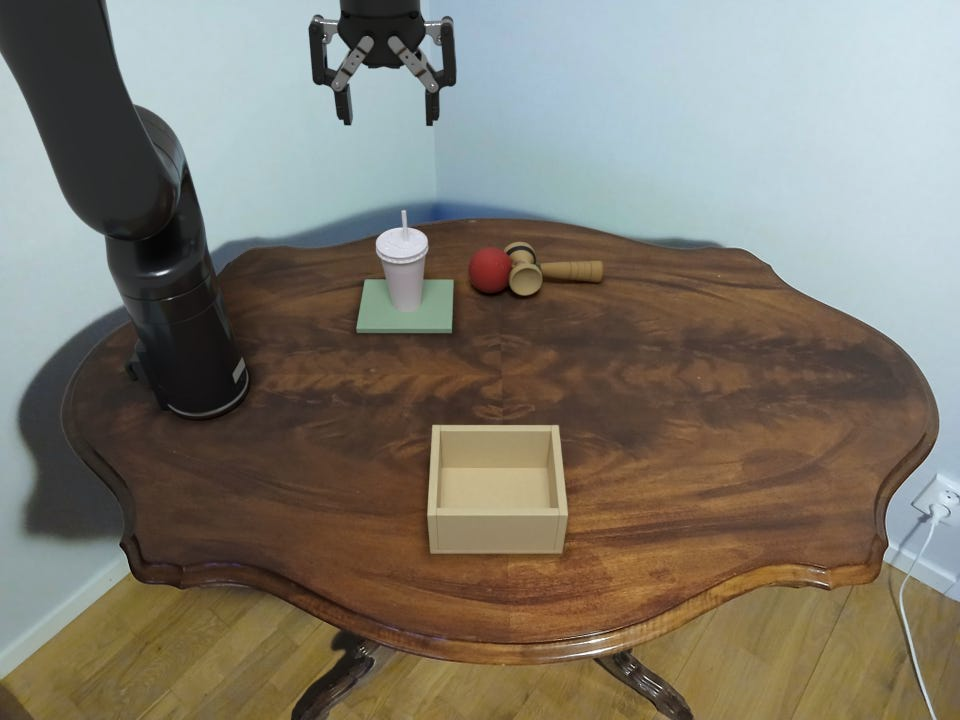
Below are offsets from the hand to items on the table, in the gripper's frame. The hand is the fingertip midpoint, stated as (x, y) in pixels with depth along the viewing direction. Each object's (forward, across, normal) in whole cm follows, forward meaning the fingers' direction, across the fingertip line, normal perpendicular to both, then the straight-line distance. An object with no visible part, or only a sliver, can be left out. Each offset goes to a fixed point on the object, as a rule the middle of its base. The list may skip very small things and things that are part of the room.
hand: (389, 122), depth 77 cm
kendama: (+26, -18, -6) cm, 32 cm away
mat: (+26, 0, -1) cm, 26 cm away
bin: (+26, -11, +30) cm, 41 cm away
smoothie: (+26, 0, -1) cm, 26 cm away
